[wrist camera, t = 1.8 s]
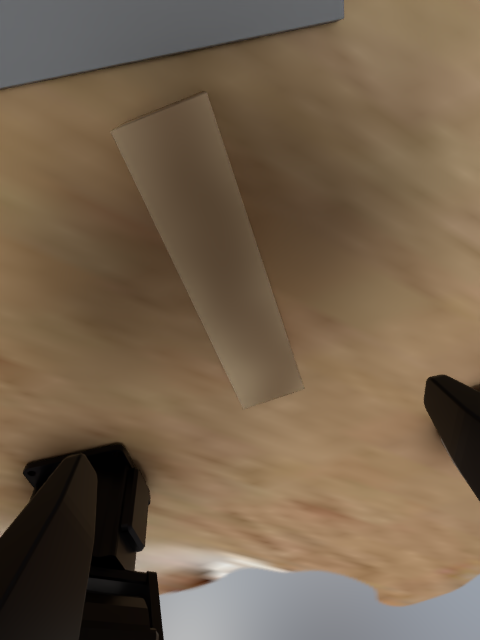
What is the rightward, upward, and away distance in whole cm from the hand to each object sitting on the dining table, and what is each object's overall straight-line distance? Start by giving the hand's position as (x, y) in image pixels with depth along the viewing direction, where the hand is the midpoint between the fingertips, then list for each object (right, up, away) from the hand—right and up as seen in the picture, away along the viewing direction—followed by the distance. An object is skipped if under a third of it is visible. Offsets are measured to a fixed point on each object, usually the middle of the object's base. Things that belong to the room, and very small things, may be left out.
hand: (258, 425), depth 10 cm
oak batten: (-1, +6, +9) cm, 11 cm away
